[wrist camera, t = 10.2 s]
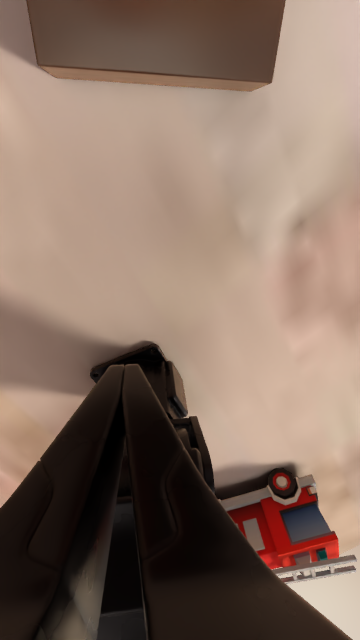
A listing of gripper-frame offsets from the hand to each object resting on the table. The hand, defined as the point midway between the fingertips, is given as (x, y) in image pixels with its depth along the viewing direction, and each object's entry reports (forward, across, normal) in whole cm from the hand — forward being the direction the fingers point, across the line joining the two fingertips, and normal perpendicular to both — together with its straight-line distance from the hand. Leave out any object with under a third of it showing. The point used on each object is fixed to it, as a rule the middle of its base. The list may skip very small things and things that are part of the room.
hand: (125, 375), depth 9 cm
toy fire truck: (+13, -14, +36) cm, 41 cm away
